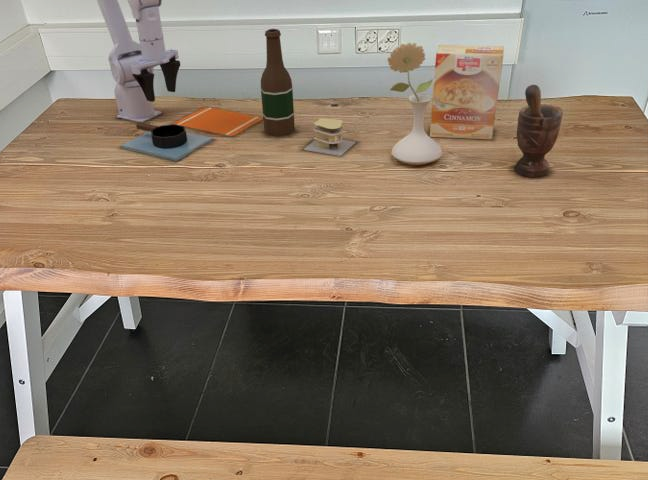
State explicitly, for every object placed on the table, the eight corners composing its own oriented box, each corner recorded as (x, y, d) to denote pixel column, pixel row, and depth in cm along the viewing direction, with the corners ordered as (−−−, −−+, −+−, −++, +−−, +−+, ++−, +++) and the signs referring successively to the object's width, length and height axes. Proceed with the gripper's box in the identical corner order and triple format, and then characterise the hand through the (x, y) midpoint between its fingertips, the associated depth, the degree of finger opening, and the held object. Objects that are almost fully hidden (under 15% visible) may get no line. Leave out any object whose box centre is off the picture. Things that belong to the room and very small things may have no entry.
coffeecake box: (429, 137, 166) (435, 52, 153) (431, 126, 171) (438, 43, 159) (492, 140, 163) (503, 54, 150) (493, 129, 168) (504, 45, 156)
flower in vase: (444, 150, 159) (454, 35, 143) (438, 171, 151) (448, 51, 135) (388, 147, 162) (392, 34, 146) (380, 167, 154) (382, 49, 138)
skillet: (194, 139, 170) (192, 126, 168) (171, 151, 165) (169, 138, 163) (151, 129, 176) (149, 117, 174) (129, 141, 171) (126, 129, 169)
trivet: (121, 148, 170) (120, 145, 169) (159, 129, 179) (158, 126, 178) (176, 161, 162) (175, 158, 161) (213, 140, 171) (212, 137, 170)
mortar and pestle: (549, 187, 142) (568, 89, 130) (507, 183, 145) (521, 86, 132) (552, 164, 151) (570, 70, 138) (512, 161, 153) (526, 68, 140)
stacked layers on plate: (302, 149, 164) (301, 127, 160) (319, 136, 170) (318, 114, 166) (340, 156, 160) (340, 133, 156) (356, 142, 166) (356, 119, 162)
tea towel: (172, 124, 181) (172, 123, 180) (205, 107, 190) (205, 106, 189) (232, 137, 172) (232, 136, 172) (264, 119, 181) (264, 117, 180)
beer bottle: (296, 126, 175) (291, 25, 160) (293, 138, 170) (287, 34, 154) (266, 126, 176) (258, 26, 161) (262, 138, 170) (253, 35, 155)
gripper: (142, 48, 156) (153, 107, 165) (184, 32, 165) (192, 89, 174) (120, 44, 159) (132, 103, 168) (162, 29, 168) (171, 85, 177)
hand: (161, 96), depth 171 cm, fingers open, 7 cm apart
